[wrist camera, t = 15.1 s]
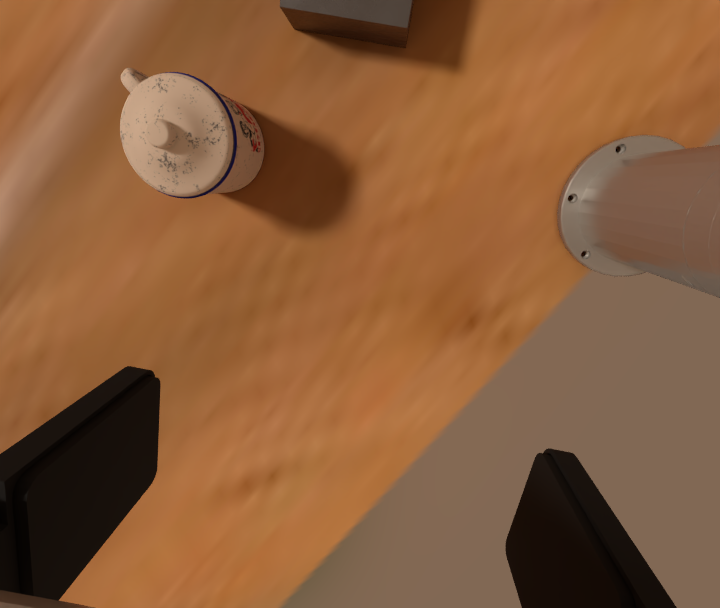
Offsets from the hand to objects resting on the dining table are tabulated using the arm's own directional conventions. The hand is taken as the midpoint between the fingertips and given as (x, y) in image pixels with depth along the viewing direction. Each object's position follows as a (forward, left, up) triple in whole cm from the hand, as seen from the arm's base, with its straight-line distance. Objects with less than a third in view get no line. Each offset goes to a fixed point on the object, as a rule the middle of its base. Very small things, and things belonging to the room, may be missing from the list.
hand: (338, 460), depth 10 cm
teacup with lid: (+18, -8, -34) cm, 39 cm away
